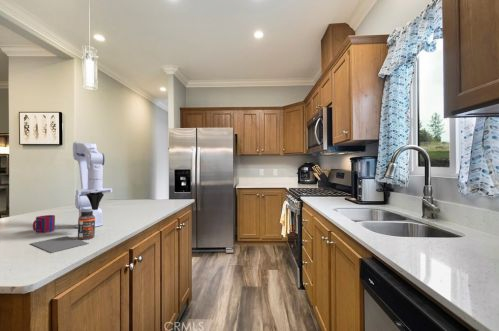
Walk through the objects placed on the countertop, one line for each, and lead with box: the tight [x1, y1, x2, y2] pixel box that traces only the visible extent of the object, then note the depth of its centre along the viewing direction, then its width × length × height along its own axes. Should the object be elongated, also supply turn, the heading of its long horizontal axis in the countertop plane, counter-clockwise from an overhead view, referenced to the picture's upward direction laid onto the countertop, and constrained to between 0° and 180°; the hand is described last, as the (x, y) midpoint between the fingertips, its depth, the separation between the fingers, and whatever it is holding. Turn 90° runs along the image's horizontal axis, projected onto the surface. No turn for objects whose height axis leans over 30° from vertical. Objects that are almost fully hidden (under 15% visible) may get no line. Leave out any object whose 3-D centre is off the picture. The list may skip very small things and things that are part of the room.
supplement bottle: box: [77, 210, 96, 241], centre depth 101 cm, size 6×6×11 cm
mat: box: [29, 235, 89, 254], centre depth 93 cm, size 12×18×1 cm, turn 59°
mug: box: [32, 214, 56, 234], centre depth 109 cm, size 7×10×7 cm
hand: (94, 209), depth 109 cm, fingers closed
